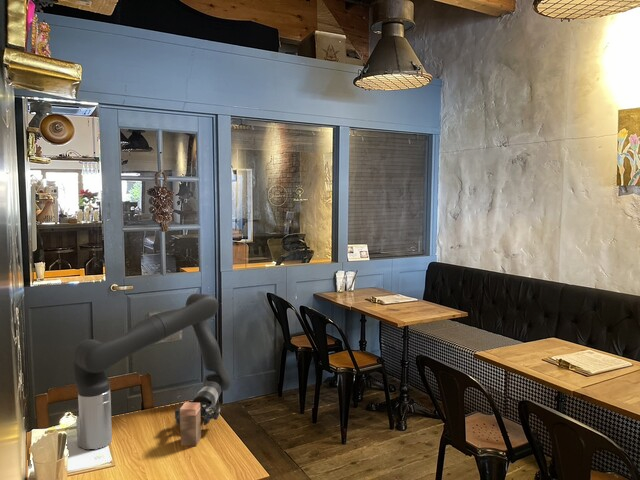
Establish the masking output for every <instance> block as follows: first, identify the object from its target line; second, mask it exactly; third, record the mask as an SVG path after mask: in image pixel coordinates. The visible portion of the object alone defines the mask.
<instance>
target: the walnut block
mask: <svg viewBox="0 0 640 480" xmlns="http://www.w3.org/2000/svg"><path fill="white" fill-rule="evenodd" d="M182 404H183V406H182V407H181V408H180V426H179V429H180V431H179V432H180V446H183V447H184V446H186V447H197V446H198V444H199V442H200V440H201V439H202V426H201V425H202V424H201V423H202V422H201V417H202V416H201V414H200V403H195V402H192V401H190V402H189V401H188V402H187V401H184V403H182Z"/></svg>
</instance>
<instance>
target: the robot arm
mask: <svg viewBox="0 0 640 480" xmlns="http://www.w3.org/2000/svg"><path fill="white" fill-rule="evenodd" d="M218 309H219V302H218V300H217V298H216V297H214V296H213V295H210V294H205V293H191V294H190V295H189V296H188V298H187V299H186V301H185V306H183V307H181V308H176V309H170V310H165V311H161V312H157V313H155V314H152V315H150V316H148V317H145V318H143V319H141V320H139V321H138V322H136V323H135V324H134V325H133V326H132V327H131V328H129V330H128V331H127V332H126V333H124V334H122V335H121V336H119V337H116V338H114V339H112V340H109V341H106V342H102V341H98V340H96V339H91V338H90V339H84V340H82V341H81V342H80V343H78V344H77V345H76V347H75V349H74V351H73V355H72V356H73V357H72V363H73V365H72V366H73V374H74V375H73V376H74V383H75V385H76V388H77V398H78V399H77V401H78V402H77V403H78V416H77V417H76V418H75V420H76V421H75V422H76V442H77V443H76V444H77V448H82V449H83V450H85V449H95V450H99V449H98V448H100V449H102V447H103V448H105V447H107V446H108V445H110V444H111V443H112V442H113V429H112V428H113V427H112V405H111V402H112V401H111V400H112V398H111V384H110V383H111V381H110V379H109V378H108V376H107V374H106V372H105V371H106V370H108V369H110V368H112V367H114V366H115V365H117V364H118V363H120V362H121V361H123V360H125V359H126V358H128V357H129V356H132V355H134V354H136V353H137V352H140V351H142V350H144V349H147V348H148V347H150V346H152V345H155V344H156V343H159V342H161V341H163V340H165V339H167V338H168V337H170V336H173V335H174V334H177V333H179V332H181V331H182V330H184V329H186V328H188V327H190V326H192V328H193V331H194V335H195V336H196V339H197V342H198V345H199V346H198V347H199V350H200V354H201V358H202V359H201V360H202V365H203V367H204V369H205V370H206V371H207V372H208V371H209V372H214V373H210V374H206V376H203V377H204V378H203V381H202V383H203V384H202V388H201V389H200V390H199V391H198V392H197V393H196V395H195V396H194V398H193V399H192V401H191V402H195V403H200V414H201V417H203V426H207V425H208V424H209V423H210V421H212V420H215V421H216V420H218V419H219V416H220V414H221V405H220V404H217V403H218V402H217V401H218V400H219V397H220V395H221V394H222V392H226V391H228V390H229V389H230V388H231V385H232V379H231V376H230V373H229V372H228V370H227V368H226V367H225V365H224V362H223V359H222V354H221V350H220V345H219V343H218V341H217V340H216V338H215V335H214V334H213V332H212V331H211V328H210V327H209V324H208V320H209V319H211V318H213V317H214V316H215V315H216V314H217V312H218ZM183 404H184V403H181V404H180V405H178V407H177V408H176V409H175V411H174V419H176V421H175V422H176V424H177V425H180V408H181V407H182V406H183ZM216 404H217V405H216ZM104 446H105V447H104Z"/></svg>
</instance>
